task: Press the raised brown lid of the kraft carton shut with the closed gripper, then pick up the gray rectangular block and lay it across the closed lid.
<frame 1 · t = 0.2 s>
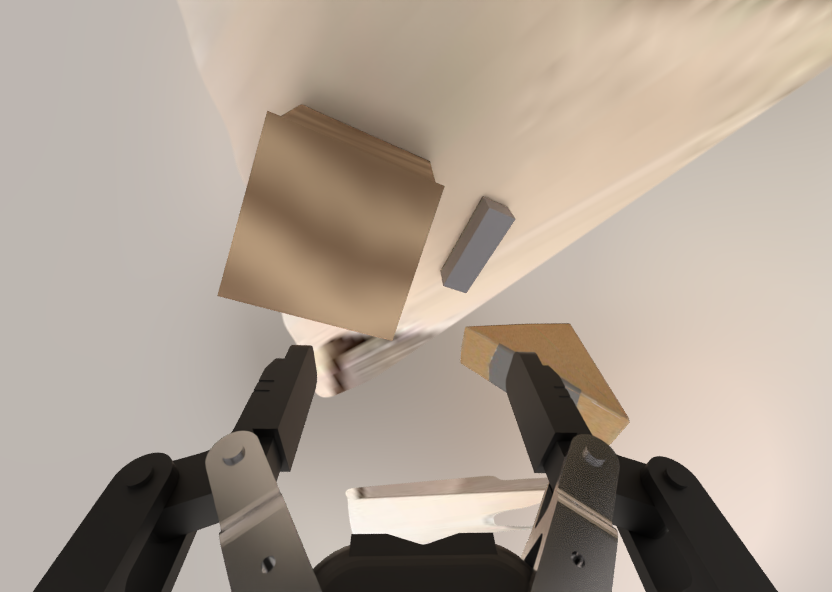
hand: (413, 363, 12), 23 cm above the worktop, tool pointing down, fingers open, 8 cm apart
gray rectangular block: (471, 240, 35), on the worktop
lid: (336, 238, 22), point 11 cm above the worktop, hinge at 30.0°
carton: (351, 195, 31), on the worktop
sandwich container: (511, 342, 47), on the worktop
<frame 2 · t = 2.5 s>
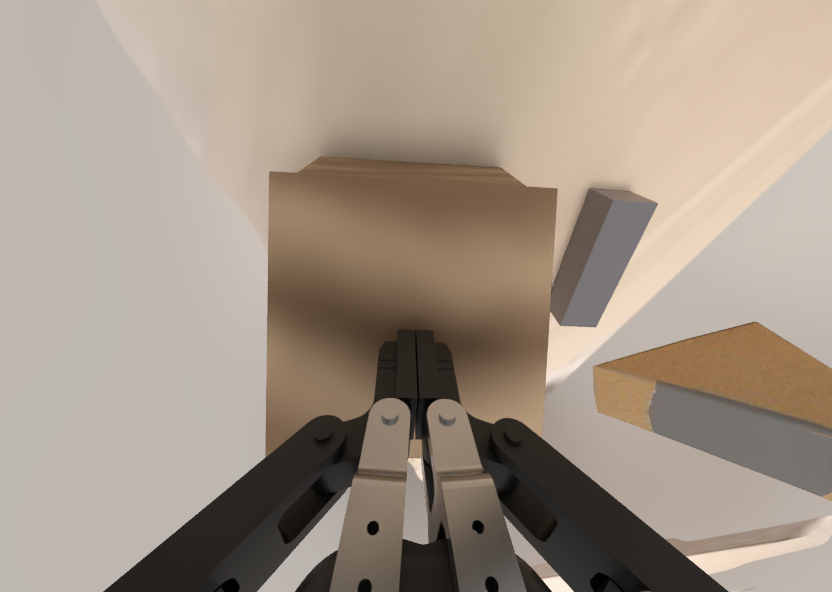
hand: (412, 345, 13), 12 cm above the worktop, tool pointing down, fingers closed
gray rectangular block: (581, 252, 25), on the worktop
lid: (411, 320, 14), point 11 cm above the worktop, hinge at 29.8°, touching gripper
carton: (407, 246, 24), on the worktop
sandwich container: (666, 369, 33), on the worktop
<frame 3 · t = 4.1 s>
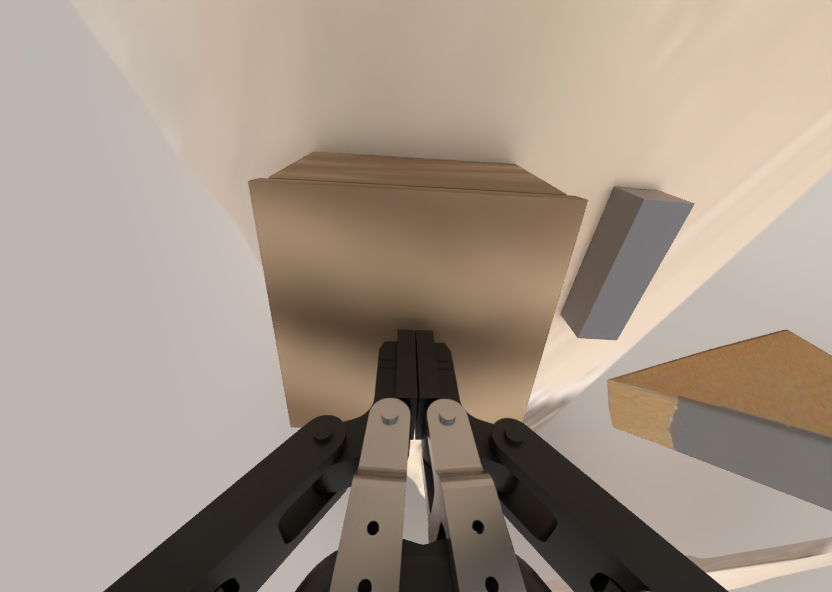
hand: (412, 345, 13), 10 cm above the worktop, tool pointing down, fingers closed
gray rectangular block: (602, 258, 23), on the worktop
lid: (413, 327, 14), point 8 cm above the worktop, hinge at 6.0°
carton: (410, 251, 21), on the worktop
sandwich container: (687, 381, 30), on the worktop
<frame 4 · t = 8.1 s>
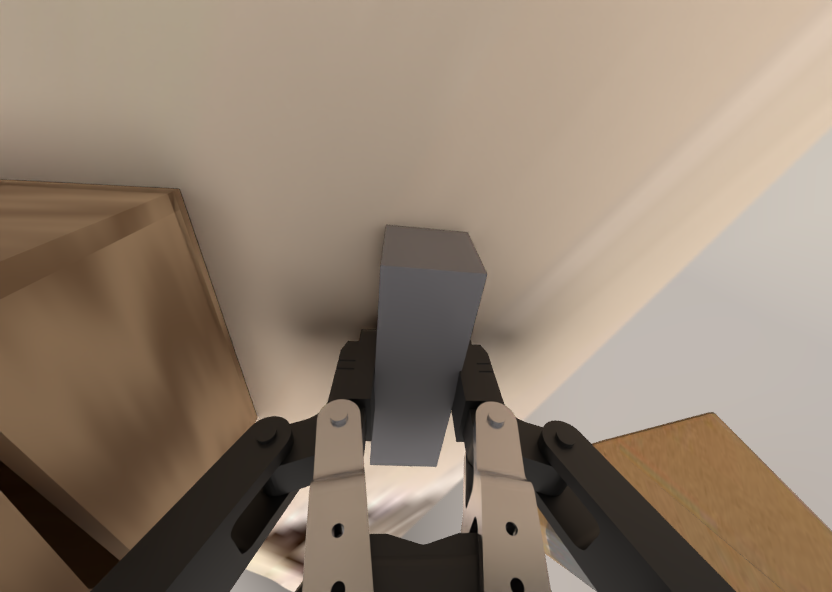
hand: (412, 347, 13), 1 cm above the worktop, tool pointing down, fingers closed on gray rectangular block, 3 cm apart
gray rectangular block: (413, 334, 14), on the worktop, touching gripper
carton: (80, 326, 13), on the worktop
sandwich container: (589, 473, 22), on the worktop
when the fingers open (10 cm above the worktop, at t = 12.6 s): gray rectangular block stays where it is, resting on lid.
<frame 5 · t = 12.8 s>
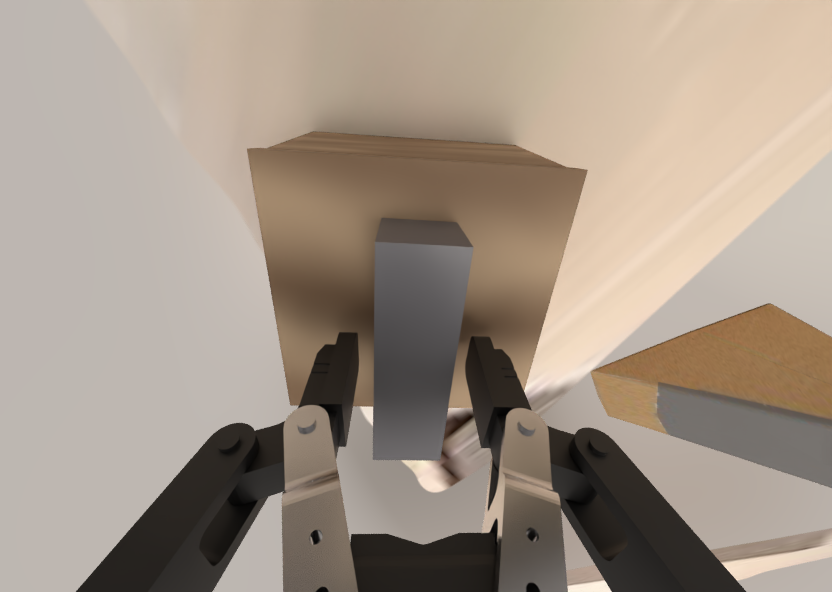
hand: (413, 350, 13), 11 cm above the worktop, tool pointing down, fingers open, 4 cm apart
gray rectangular block: (411, 327, 14), point 9 cm above the worktop, tilted 6°, touching lid
lid: (413, 302, 14), point 8 cm above the worktop, hinge at 5.8°, touching gray rectangular block
carton: (410, 234, 21), on the worktop
sandwich container: (675, 364, 30), on the worktop
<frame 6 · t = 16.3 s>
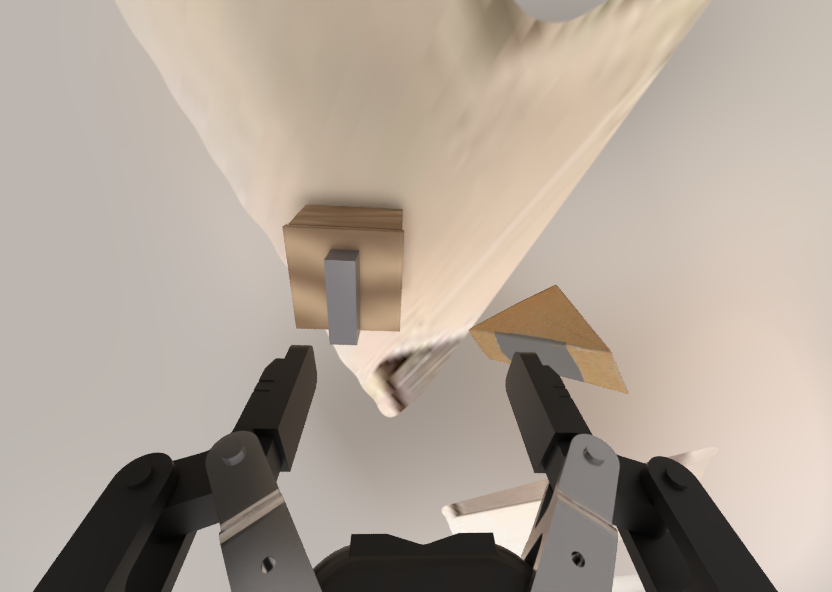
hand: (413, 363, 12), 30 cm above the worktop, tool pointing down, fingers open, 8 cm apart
gray rectangular block: (346, 292, 35), point 9 cm above the worktop, tilted 6°, touching lid
lid: (347, 281, 35), point 8 cm above the worktop, hinge at 5.7°, touching gray rectangular block
carton: (356, 250, 42), on the worktop
sandwich container: (519, 323, 50), on the worktop
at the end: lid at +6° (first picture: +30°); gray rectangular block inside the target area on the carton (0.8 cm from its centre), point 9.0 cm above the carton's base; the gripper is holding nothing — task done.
